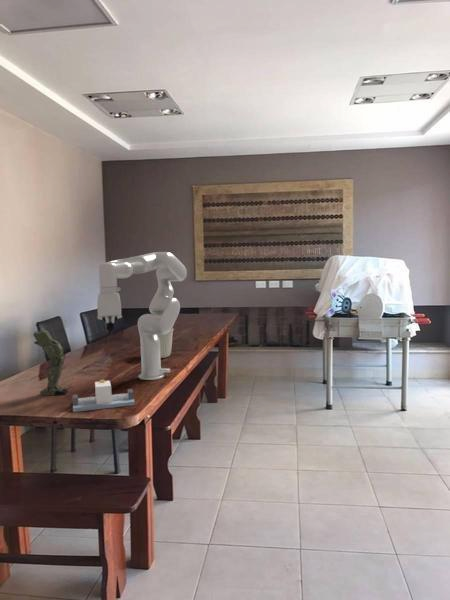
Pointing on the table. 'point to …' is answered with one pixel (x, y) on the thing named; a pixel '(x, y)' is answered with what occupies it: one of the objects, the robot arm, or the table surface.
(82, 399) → the rail
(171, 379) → the table surface
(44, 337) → the green creature figurine
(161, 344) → the canister
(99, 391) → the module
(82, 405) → the board
